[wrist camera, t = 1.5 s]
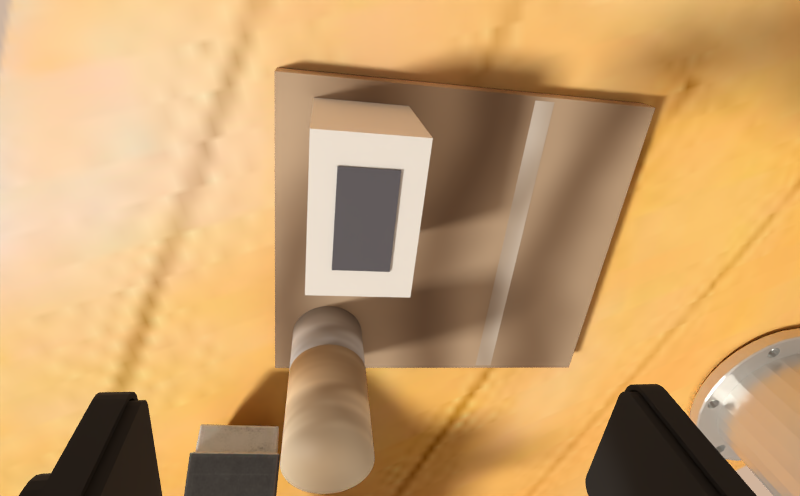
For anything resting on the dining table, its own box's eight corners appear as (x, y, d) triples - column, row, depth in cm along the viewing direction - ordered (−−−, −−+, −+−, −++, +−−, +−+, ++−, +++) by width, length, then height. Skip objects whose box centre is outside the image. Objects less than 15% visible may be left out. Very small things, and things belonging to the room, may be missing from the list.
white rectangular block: (408, 105, 24) (433, 138, 18) (393, 237, 27) (410, 298, 21) (313, 97, 23) (309, 129, 17) (309, 233, 26) (304, 296, 21)
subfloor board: (642, 103, 26) (655, 107, 25) (561, 355, 34) (568, 367, 33) (277, 67, 23) (274, 71, 22) (277, 355, 31) (275, 368, 30)
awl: (364, 306, 28) (378, 427, 21) (359, 361, 30) (370, 492, 22) (293, 305, 28) (280, 429, 20) (292, 361, 30) (279, 495, 22)
